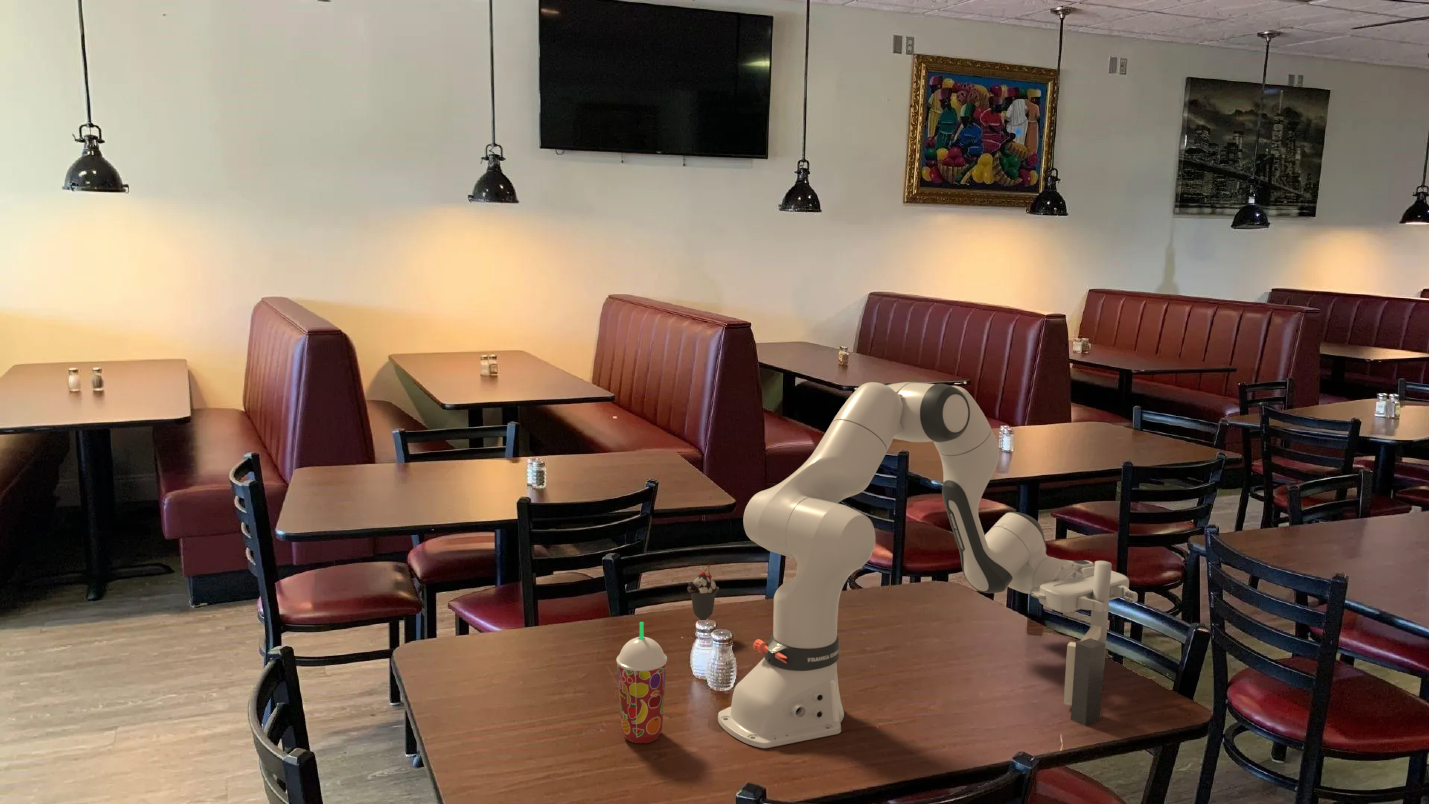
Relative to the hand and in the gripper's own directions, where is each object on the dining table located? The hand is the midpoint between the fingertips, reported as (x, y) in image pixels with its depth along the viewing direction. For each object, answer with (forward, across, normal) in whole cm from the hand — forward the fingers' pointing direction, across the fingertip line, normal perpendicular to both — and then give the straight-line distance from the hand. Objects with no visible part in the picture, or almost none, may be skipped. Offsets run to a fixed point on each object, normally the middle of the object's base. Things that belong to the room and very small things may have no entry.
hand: (1120, 603), depth 197 cm
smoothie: (-29, -87, +15) cm, 93 cm away
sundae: (-61, -54, +15) cm, 83 cm away
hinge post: (+8, -19, +15) cm, 26 cm away
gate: (0, -9, +14) cm, 17 cm away
